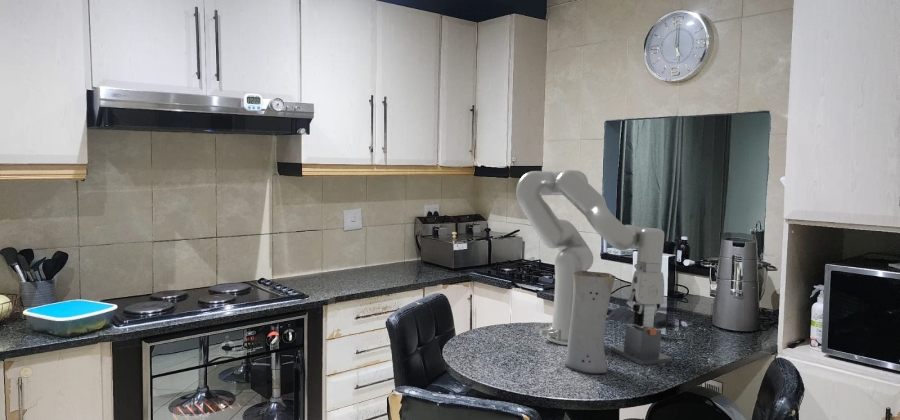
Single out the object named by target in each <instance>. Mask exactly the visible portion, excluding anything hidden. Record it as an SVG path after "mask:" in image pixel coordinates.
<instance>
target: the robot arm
mask: <svg viewBox="0 0 900 420" xmlns="http://www.w3.org/2000/svg"><path fill="white" fill-rule="evenodd" d="M515 196H516V202H517V203H518V206H519V208H520V209H521V211H522V213H523V214H524V216H525V217H526V218H527V220H528V221H529V223H530V224H531V226H532V228H533V229H534V231H535V232H536V234H537V236H538V237H539V239H540V240H541V242H542V243H543V245H544V246H545V247H547V248H550V249H558V251H559V252H558V254H557V255H556V257H555V260H554V276H555V278H554V279H555V280H554V298H553V310H552V323H551V324H550V325H549V326H548V328H546V329H545V328H543V329H542V328H541V329H539V330H538V333H539V335H540V336H546V339H547V340H548V341H550V342H551V343H554V344H557V345H563V346H568V337H569V329H570V321H571V313H572V303H573V286H574V279H573V273H575V272H578V271H588V270H590V269H591V267H592V266H593V264H594V255H593V254H594V253H593V252H592V250H591V248H590V246H589V245H588V244H587V242H586V241H585V239H584V238H583V237H582V235H581V234H580V232H579V231H578V229H577V228H576V226H575V225H574V224H573V223H571V222H570V221H568V220H566V219H562V218H561V219H559V218H558V216H556V214H555V213H554V211H553V210H552V208H551V207H550V205H549V204H548V203H547V202H546V201H545V200H544V198H543V197H542V196H563V197H564V198H566V200H568V202H570V203H571V204H572V205H573V206H574V207H575V208H576V209H577V210H578V211H579V212H580V213H581V214H582V215H583V216H584V217H585V218H586V220H587V221H588V223H589V224H590V225H591V227H592V228H593V230H594V231H595V232H597V233H598V235H599V236H600V237H601V238H602V239H603V240H604V241H605V242H607V243H608V244H609V245H610V246H611V247H613V248H614V249H615V250H618V251H626V250H629V249H635V248H637V253H636V254H637V255H636V256H637V257H636V263H635V264H634V269H635V270H634V272H633V276H632V280H631V286H630V294H629V298H628V300H627V301H626V305H628V306H629V307H630V308H631V310H632V311H634V312H635V314H634V324H635V325H638V326H642V320H643V314H642V309H643V305H653V304H655V312H654V319H655V314H656V313H657V312H658V310H659V308H661V306H662V305H663V304H665V300H664V299H665V276H664V273H663V272H662V266H663V256H664V255H663V254H664V243H665V231H664V230H662V229H661V228H656V227H655V228H653V227H641V226H637V225H633V224H623V223H622V222H621V221H620V220H619V219H618V218H617V217H615V216H614V214H613V213H612V212H611V211H610V209H609V208H608V206H607V203H606V199H605V197H604V196H603V195H602V194H600V192H598V190H596V188H594V187H593V186H592V185H591V184H589V179H588V177H587V175H586V174H585V173H584V172H583V171H581V170H577V169H566V170H561V171H560V170H559V171H557V170H556V171H554V170H553V171H552V170H551V171H550V170H549V171H543V170H531V171H528V172H525V174H523V175H522V176H521V178H520V179H519V180H518V182H517V185H516V190H515ZM634 302H635V303H634ZM638 305H639V308H638ZM653 325H654V323H653Z"/></svg>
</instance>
